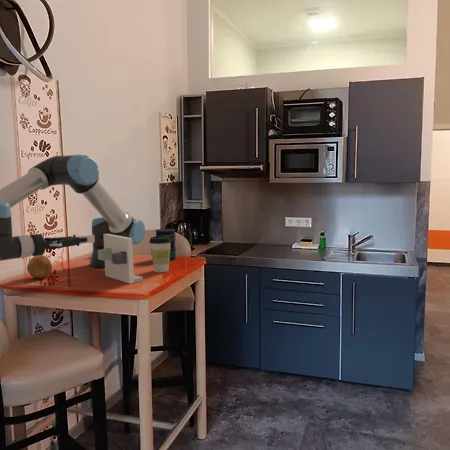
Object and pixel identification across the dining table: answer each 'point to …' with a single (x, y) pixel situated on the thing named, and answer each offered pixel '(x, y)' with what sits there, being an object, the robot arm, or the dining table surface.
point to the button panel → (122, 270)
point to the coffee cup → (160, 252)
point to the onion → (39, 267)
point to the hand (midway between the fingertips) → (93, 238)
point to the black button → (119, 258)
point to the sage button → (105, 254)
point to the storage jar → (172, 236)
